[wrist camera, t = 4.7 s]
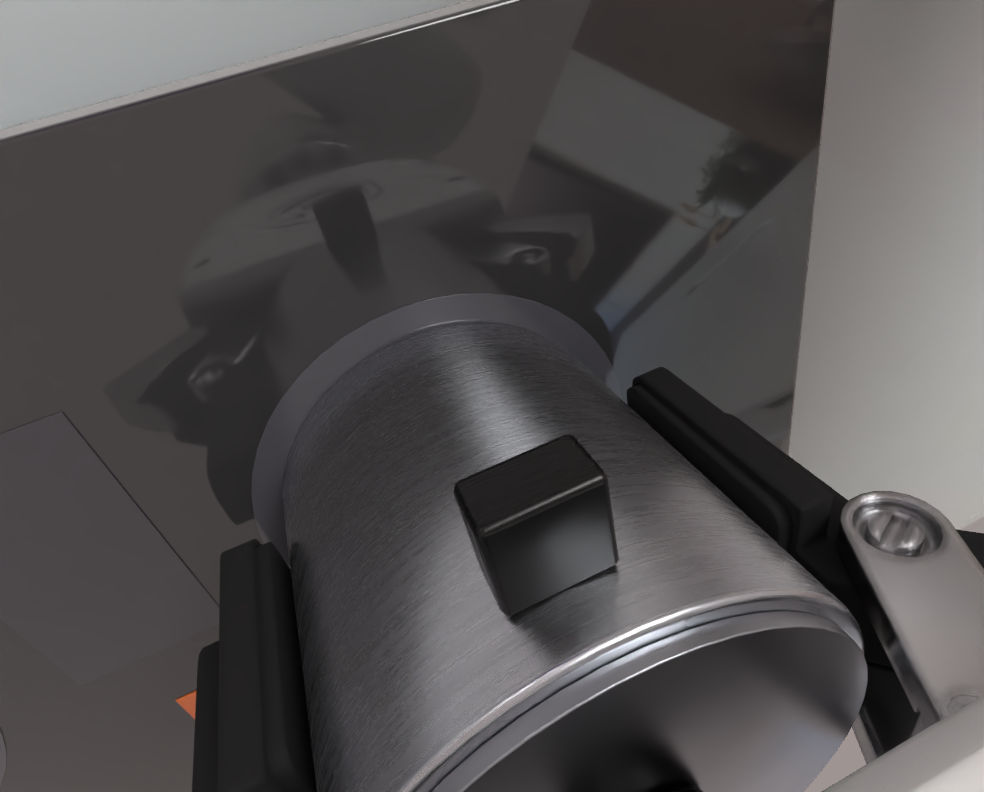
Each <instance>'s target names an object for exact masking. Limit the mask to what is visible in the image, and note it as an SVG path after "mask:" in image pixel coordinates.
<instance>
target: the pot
mask: <svg viewBox="0 0 984 792" xmlns="http://www.w3.org/2000/svg"><path fill="white" fill-rule="evenodd" d="M282 501H283V511H284V520H285V528H286V536H287V545H288V553H289V562H290V570H291V578H292V587H293V595H294V603H295V612H296V620H297V628H298V637H299V645H300V653H301V662H302V670H303V679H304V687H305V695H306V704H307V712H308V720H309V729H310V737H311V745H312V754H313V762H314V770H315V779H316V787H317V792H804V790H806V788H807V787H808V786H809V785H810V784H811V783H812V781H813V780H814V779H815V778H816V777H817V776H818V774H819V773H820V772H821V771H822V770H823V768H824V767H825V766H826V765H827V763H828V762H829V761H830V759H831V758H832V756H833V755H834V754H835V753H836V751H837V750H838V748H839V747H840V745H841V744H842V742H843V740H844V739H845V737H846V736H847V734H848V732H849V730H850V729H851V727H852V725H853V723H854V721H855V719H856V717H857V715H858V713H859V710H860V708H861V705H862V702H863V700H864V696H865V692H866V687H867V682H868V675H867V664H866V661H865V657H864V640H863V637H862V633H861V630H860V627H859V625H858V623H857V621H856V619H855V618H854V616H853V615H852V614H851V612H850V611H849V609H848V608H847V607H846V606H845V605H844V604H843V603H842V602H840V601H839V600H838V599H837V598H836V597H835V596H834V595H833V594H832V593H831V592H830V591H829V590H827V589H826V588H825V587H824V586H823V585H822V584H821V583H820V582H819V581H818V580H817V579H816V578H814V577H813V576H812V575H811V574H810V573H809V572H808V571H807V570H806V569H805V568H804V567H803V566H801V565H800V564H799V563H798V562H797V561H796V560H795V559H794V558H793V557H792V556H791V555H790V554H788V553H787V552H786V551H785V550H784V549H783V548H782V547H781V546H780V545H779V544H778V543H777V542H775V541H774V540H773V539H772V538H771V537H770V536H769V535H768V534H767V533H766V532H765V531H764V530H762V529H761V528H760V527H759V526H758V525H757V524H756V523H755V522H754V521H753V520H752V519H751V518H749V517H748V516H747V515H746V514H745V513H744V512H743V511H742V510H741V509H740V508H739V507H738V506H736V505H735V504H734V503H733V502H732V501H731V500H730V499H729V498H728V497H727V496H726V495H725V494H723V493H722V492H721V491H720V490H719V489H718V488H717V487H716V486H715V485H714V484H713V483H712V482H710V481H709V480H708V479H707V478H706V477H705V476H704V475H703V474H702V473H701V472H700V471H699V470H697V469H696V468H695V467H694V466H693V465H692V464H691V463H690V462H689V461H688V460H687V459H686V458H684V457H683V456H682V455H681V454H680V453H679V452H678V451H677V450H676V449H675V448H674V447H673V446H671V445H670V444H669V443H668V442H667V441H666V440H665V439H664V438H663V437H662V436H661V435H660V434H658V433H657V432H656V431H655V430H654V429H653V428H652V427H651V426H650V425H649V424H648V423H647V422H645V421H644V420H643V419H642V418H641V417H640V416H639V415H638V414H637V413H636V412H635V411H634V410H632V409H631V408H630V407H629V406H628V405H627V404H626V403H625V402H624V401H623V400H622V399H621V398H619V397H618V396H617V395H616V394H615V393H614V392H613V391H612V390H611V389H610V388H609V387H607V386H606V385H605V384H604V383H603V382H602V381H601V380H600V379H599V378H598V377H597V376H596V375H594V374H593V373H592V372H591V371H590V370H589V369H588V368H587V367H586V366H585V365H584V364H583V363H581V362H580V361H579V360H578V359H577V358H576V357H575V356H574V355H573V354H571V353H570V352H569V351H568V350H566V349H565V348H564V347H563V346H561V345H560V344H558V343H556V342H555V341H553V340H551V339H549V338H548V337H546V336H544V335H541V334H538V333H536V332H533V331H530V330H528V329H524V328H520V327H515V326H510V325H506V324H493V323H469V324H456V325H450V326H445V327H440V328H434V329H431V330H428V331H424V332H421V333H418V334H415V335H412V336H409V337H407V338H404V339H402V340H400V341H398V342H395V343H393V344H391V345H389V346H386V347H385V348H383V349H381V350H380V351H378V352H376V353H375V354H373V355H371V356H370V357H368V358H366V359H365V360H363V361H362V362H360V363H359V364H358V365H357V366H355V367H354V368H353V369H351V370H350V371H349V372H347V373H346V374H345V375H344V376H342V377H341V378H340V379H339V380H338V381H337V382H336V383H335V384H334V385H333V386H332V387H331V388H330V389H329V390H328V391H327V392H326V393H325V394H324V396H323V397H322V398H321V399H320V401H319V402H318V403H317V404H316V406H315V407H314V408H313V410H312V411H311V412H310V413H309V415H308V417H307V418H306V420H305V422H304V423H303V425H302V427H301V428H300V430H299V432H298V433H297V436H296V438H295V440H294V443H293V445H292V448H291V450H290V453H289V455H288V459H287V463H286V467H285V471H284V475H283V488H282Z"/></svg>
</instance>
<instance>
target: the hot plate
mask: <svg viewBox="0 0 984 792" xmlns="http://www.w3.org/2000/svg"><path fill="white" fill-rule="evenodd" d="M835 1H836V0H470V1H466V2H463V3H459V4H455V5H452V6H448V7H444V8H441V9H437V10H434V11H430V12H426V13H423V14H419V15H415V16H412V17H408V18H405V19H401V20H397V21H394V22H390V23H386V24H383V25H379V26H375V27H372V28H368V29H365V30H361V31H357V32H354V33H350V34H346V35H343V36H339V37H336V38H332V39H328V40H325V41H321V42H317V43H314V44H310V45H307V46H303V47H299V48H296V49H292V50H288V51H285V52H281V53H277V54H274V55H270V56H267V57H263V58H259V59H256V60H252V61H248V62H245V63H241V64H238V65H234V66H230V67H227V68H223V69H219V70H216V71H212V72H209V73H205V74H201V75H198V76H194V77H190V78H187V79H183V80H179V81H176V82H172V83H169V84H165V85H161V86H158V87H154V88H150V89H147V90H143V91H140V92H136V93H132V94H129V95H125V96H121V97H118V98H114V99H111V100H107V101H103V102H100V103H96V104H92V105H89V106H85V107H81V108H78V109H74V110H71V111H67V112H63V113H60V114H56V115H52V116H49V117H45V118H42V119H38V120H34V121H31V122H27V123H23V124H20V125H16V126H13V127H9V128H5V129H2V130H0V792H192V777H193V755H194V733H195V710H196V688H197V666H198V658H199V654H200V652H201V650H202V648H204V647H206V646H208V645H210V644H212V643H214V642H216V641H219V604H220V556H221V554H222V552H224V551H227V550H229V549H232V548H234V547H236V546H239V545H241V544H243V543H246V542H248V541H250V540H253V539H257V540H258V541H259V542H260V543H261V544H262V545H263V544H265V543H268V542H272V543H273V544H274V545H275V547H276V548H277V550H278V551H279V553H280V554H281V556H282V557H283V559H284V560H285V562H286V564H287V565H288V567H289V568H290V562H289V553H288V545H287V536H286V528H285V520H284V511H283V501H282V488H283V475H284V471H285V467H286V463H287V459H288V455H289V453H290V450H291V448H292V445H293V443H294V440H295V438H296V436H297V433H298V432H299V430H300V428H301V427H302V425H303V423H304V422H305V420H306V418H307V417H308V415H309V413H310V412H311V411H312V410H313V408H314V407H315V406H316V404H317V403H318V402H319V401H320V399H321V398H322V397H323V396H324V394H325V393H326V392H327V391H328V390H329V389H330V388H331V387H332V386H333V385H334V384H335V383H336V382H337V381H338V380H339V379H340V378H341V377H342V376H344V375H345V374H346V373H347V372H349V371H350V370H351V369H353V368H354V367H355V366H357V365H358V364H359V363H360V362H362V361H363V360H365V359H366V358H368V357H370V356H371V355H373V354H375V353H376V352H378V351H380V350H381V349H383V348H385V347H386V346H389V345H391V344H393V343H395V342H398V341H400V340H402V339H404V338H407V337H409V336H412V335H415V334H418V333H421V332H424V331H428V330H431V329H434V328H440V327H445V326H450V325H456V324H469V323H493V324H506V325H510V326H515V327H520V328H524V329H528V330H530V331H533V332H536V333H538V334H541V335H544V336H546V337H548V338H549V339H551V340H553V341H555V342H556V343H558V344H560V345H561V346H563V347H564V348H565V349H566V350H568V351H569V352H570V353H571V354H573V355H574V356H575V357H576V358H577V359H578V360H579V361H580V362H581V363H583V364H584V365H585V366H586V367H587V368H588V369H589V370H590V371H591V372H592V373H593V374H594V375H596V376H597V377H598V378H599V379H600V380H601V381H602V382H603V383H604V384H605V385H606V386H607V387H609V388H610V389H611V390H612V391H613V392H614V393H615V394H616V395H617V396H618V397H619V398H621V399H622V400H623V401H624V402H625V403H626V404H627V389H629V388H631V387H632V382H633V379H634V378H635V377H637V376H639V375H642V374H644V373H647V372H649V371H651V370H654V369H656V368H658V367H664V368H666V369H668V370H669V371H670V372H672V373H673V374H674V375H676V376H677V377H678V378H680V379H681V380H682V381H684V382H685V383H686V384H688V385H689V386H690V387H691V388H693V389H694V390H695V391H697V392H698V393H699V394H701V395H702V396H703V397H705V398H706V399H707V400H709V401H710V402H711V403H713V404H714V405H715V406H717V407H718V408H719V409H721V410H722V411H723V412H724V413H728V414H732V415H733V416H735V417H737V418H739V419H740V420H741V421H743V422H744V423H745V424H747V425H748V426H749V427H751V428H752V429H753V430H755V431H756V432H757V433H759V434H760V435H761V436H763V437H764V438H765V439H767V440H768V441H769V442H771V443H772V444H773V445H775V446H776V447H777V448H779V449H780V450H781V451H783V452H784V453H785V454H787V455H788V453H789V443H790V434H791V424H792V415H793V405H794V395H795V386H796V376H797V366H798V357H799V347H800V338H801V328H802V318H803V309H804V299H805V289H806V280H807V270H808V261H809V251H810V241H811V232H812V222H813V212H814V203H815V193H816V183H817V174H818V164H819V155H820V145H821V135H822V126H823V116H824V106H825V97H826V87H827V78H828V68H829V58H830V49H831V39H832V29H833V20H834V10H835Z"/></svg>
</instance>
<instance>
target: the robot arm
mask: <svg viewBox="0 0 984 792" xmlns="http://www.w3.org/2000/svg"><path fill="white" fill-rule="evenodd" d="M627 405H628V406H629V407H630V408H631V409H632V410H634V411H635V412H636V413H637V414H638V415H639V416H640V417H641V418H642V419H643V420H644V421H645V422H647V423H648V424H649V425H650V426H651V427H652V428H653V429H654V430H655V431H656V432H657V433H658V434H660V435H661V436H662V437H663V438H664V439H665V440H666V441H667V442H668V443H669V444H670V445H671V446H673V447H674V448H675V449H676V450H677V451H678V452H679V453H680V454H681V455H682V456H683V457H684V458H686V459H687V460H688V461H689V462H690V463H691V464H692V465H693V466H694V467H695V468H696V469H697V470H699V471H700V472H701V473H702V474H703V475H704V476H705V477H706V478H707V479H708V480H709V481H710V482H712V483H713V484H714V485H715V486H716V487H717V488H718V489H719V490H720V491H721V492H722V493H723V494H725V495H726V496H727V497H728V498H729V499H730V500H731V501H732V502H733V503H734V504H735V505H736V506H738V507H739V508H740V509H741V510H742V511H743V512H744V513H745V514H746V515H747V516H748V517H749V518H751V519H752V520H753V521H754V522H755V523H756V524H757V525H758V526H759V527H760V528H761V529H762V530H764V531H765V532H766V533H767V534H768V535H769V536H770V537H771V538H772V539H773V540H774V541H775V542H777V543H778V544H779V545H780V546H781V547H782V548H783V549H784V550H785V551H786V552H787V553H788V554H790V555H791V556H792V557H793V558H794V559H795V560H796V561H797V562H798V563H799V564H800V565H801V566H803V567H804V568H805V569H806V570H807V571H808V572H809V573H810V574H811V575H812V576H813V577H814V578H816V579H817V580H818V581H819V582H820V583H821V584H822V585H823V586H824V587H825V588H826V589H827V590H829V591H830V592H831V593H832V594H833V595H834V596H835V597H836V598H837V599H838V600H839V601H840V602H842V603H843V604H844V605H845V606H846V607H847V608H848V609H849V611H850V612H851V614H852V615H853V616H854V618H855V619H856V621H857V623H858V625H859V627H860V630H861V633H862V637H863V640H864V657H865V661H866V664H867V675H868V682H867V687H866V692H865V696H864V700H863V702H862V705H861V708H860V710H859V713H858V715H857V717H856V719H855V721H854V723H853V725H852V728H853V730H854V733H855V736H856V738H857V741H858V743H859V746H860V748H861V751H862V753H863V756H864V758H865V761H866V764H867V765H865V766H863V767H862V768H860V769H859V770H857V771H855V772H853V773H852V774H850V775H849V776H847V777H845V778H843V779H842V780H840V781H838V782H837V783H835V784H833V785H832V786H830V787H828V788H827V789H825V790H823V791H822V792H984V534H983V533H976V532H969V531H962V530H956V529H955V528H954V526H953V525H952V524H951V522H950V521H949V520H948V519H947V518H946V517H945V516H944V515H943V514H942V513H941V512H940V511H939V510H938V509H936V508H935V507H933V506H931V505H930V504H928V503H927V502H925V501H923V500H920V499H918V498H915V497H913V496H910V495H907V494H902V493H897V492H892V491H873V492H868V493H863V494H860V495H858V496H856V497H854V498H852V499H850V500H849V501H848V500H847V499H845V498H844V497H843V496H841V495H840V494H839V493H837V492H836V491H835V490H833V489H832V488H831V487H829V486H828V485H827V484H825V483H824V482H823V481H821V480H820V479H819V478H817V477H816V476H815V475H813V474H812V473H811V472H809V471H808V470H807V469H805V468H804V467H803V466H801V465H800V464H799V463H797V462H796V461H795V460H793V459H792V458H791V457H789V456H788V455H787V454H785V453H784V452H783V451H781V450H780V449H779V448H777V447H776V446H775V445H773V444H772V443H771V442H769V441H768V440H767V439H765V438H764V437H763V436H761V435H760V434H759V433H757V432H756V431H755V430H753V429H752V428H751V427H749V426H748V425H747V424H745V423H744V422H743V421H741V420H740V419H739V418H737V417H735V416H733V415H732V414H728V413H724V412H723V411H722V410H721V409H719V408H718V407H717V406H715V405H714V404H713V403H711V402H710V401H709V400H707V399H706V398H705V397H703V396H702V395H701V394H699V393H698V392H697V391H695V390H694V389H693V388H691V387H690V386H689V385H688V384H686V383H685V382H684V381H682V380H681V379H680V378H678V377H677V376H676V375H674V374H673V373H672V372H670V371H669V370H668V369H666V368H664V367H658V368H656V369H654V370H651V371H649V372H647V373H644V374H642V375H639V376H637V377H635V378H634V379H633V382H632V387H631V388H629V389H627ZM192 792H317V787H316V779H315V770H314V762H313V754H312V745H311V737H310V729H309V720H308V712H307V704H306V695H305V687H304V679H303V670H302V662H301V653H300V645H299V637H298V628H297V620H296V612H295V603H294V595H293V587H292V578H291V570H290V568H289V567H288V565H287V564H286V562H285V560H284V559H283V557H282V556H281V554H280V553H279V551H278V550H277V548H276V547H275V545H274V544H273V543H272V542H268V543H265V544H263V545H262V544H261V543H260V542H259V541H258V540H257V539H253V540H250V541H248V542H246V543H243V544H241V545H239V546H236V547H234V548H232V549H229V550H227V551H224V552H222V554H221V556H220V604H219V641H216V642H214V643H212V644H210V645H208V646H206V647H204V648H202V650H201V652H200V654H199V658H198V666H197V688H196V710H195V733H194V755H193V777H192Z"/></svg>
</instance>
